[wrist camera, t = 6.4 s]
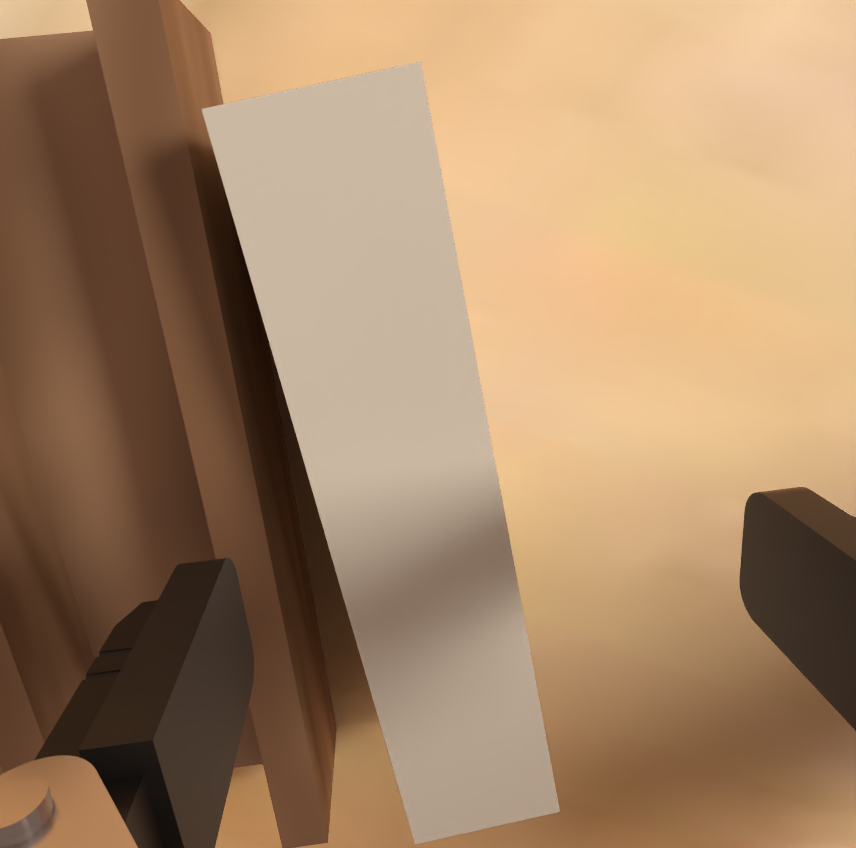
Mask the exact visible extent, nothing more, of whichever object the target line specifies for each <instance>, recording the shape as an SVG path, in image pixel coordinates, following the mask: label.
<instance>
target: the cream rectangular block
mask: <svg viewBox="0 0 856 848" xmlns="http://www.w3.org/2000/svg"><path fill="white" fill-rule="evenodd" d="M202 113H203V116H204V120H205V123H206V126H207V130H208V133H209V137H210V140H211V144H212V147H213V151H214V154H215V157H216V161H217V164H218V168H219V171H220V175H221V178H222V182H223V185H224V188H225V192H226V195H227V199H228V202H229V206H230V209H231V213H232V216H233V219H234V223H235V226H236V230H237V233H238V237H239V240H240V244H241V247H242V250H243V254H244V257H245V261H246V264H247V268H248V271H249V275H250V278H251V281H252V285H253V288H254V292H255V295H256V299H257V302H258V306H259V309H260V312H261V316H262V319H263V323H264V326H265V330H266V333H267V337H268V340H269V343H270V347H271V350H272V354H273V357H274V361H275V364H276V368H277V371H278V374H279V378H280V381H281V385H282V388H283V392H284V395H285V399H286V402H287V405H288V409H289V412H290V416H291V419H292V423H293V426H294V430H295V433H296V436H297V440H298V443H299V447H300V450H301V454H302V457H303V461H304V464H305V467H306V471H307V474H308V478H309V481H310V485H311V488H312V492H313V495H314V498H315V502H316V505H317V509H318V512H319V516H320V519H321V523H322V526H323V529H324V533H325V536H326V540H327V543H328V547H329V550H330V554H331V557H332V560H333V564H334V567H335V571H336V574H337V578H338V581H339V585H340V588H341V591H342V595H343V598H344V602H345V605H346V609H347V612H348V616H349V619H350V622H351V626H352V629H353V633H354V636H355V640H356V643H357V647H358V650H359V653H360V657H361V660H362V664H363V667H364V671H365V674H366V678H367V681H368V684H369V688H370V691H371V695H372V698H373V702H374V705H375V709H376V712H377V715H378V719H379V722H380V726H381V729H382V733H383V736H384V740H385V743H386V746H387V750H388V753H389V757H390V760H391V764H392V767H393V771H394V774H395V777H396V781H397V784H398V788H399V791H400V795H401V798H402V802H403V805H404V808H405V812H406V815H407V819H408V822H409V826H410V829H411V833H412V836H413V839H414V843H415V845H416V844H420V843H424V842H429V841H433V840H438V839H442V838H447V837H451V836H455V835H460V834H464V833H469V832H473V831H478V830H482V829H487V828H491V827H495V826H500V825H504V824H509V823H513V822H518V821H522V820H526V819H531V818H535V817H540V816H544V815H549V814H553V813H558V812H560V808H559V803H558V798H557V792H556V787H555V782H554V776H553V771H552V765H551V760H550V755H549V749H548V744H547V739H546V733H545V728H544V722H543V717H542V712H541V706H540V701H539V695H538V690H537V685H536V679H535V674H534V669H533V663H532V658H531V652H530V647H529V642H528V636H527V631H526V625H525V620H524V615H523V609H522V604H521V599H520V593H519V588H518V582H517V577H516V572H515V566H514V561H513V556H512V550H511V545H510V539H509V534H508V529H507V523H506V518H505V512H504V507H503V502H502V496H501V491H500V486H499V480H498V475H497V469H496V464H495V459H494V453H493V448H492V442H491V437H490V432H489V426H488V421H487V416H486V410H485V405H484V399H483V394H482V389H481V383H480V378H479V373H478V367H477V362H476V356H475V351H474V346H473V340H472V335H471V329H470V324H469V319H468V313H467V308H466V303H465V297H464V292H463V286H462V281H461V276H460V270H459V265H458V259H457V254H456V249H455V243H454V238H453V233H452V227H451V222H450V216H449V211H448V206H447V200H446V195H445V190H444V184H443V179H442V173H441V168H440V163H439V157H438V152H437V146H436V141H435V136H434V130H433V125H432V120H431V114H430V109H429V103H428V98H427V93H426V87H425V82H424V76H423V71H422V66H421V62H416V63H412V64H407V65H402V66H398V67H393V68H388V69H384V70H379V71H375V72H370V73H365V74H361V75H356V76H352V77H347V78H342V79H338V80H333V81H328V82H324V83H319V84H315V85H310V86H305V87H301V88H296V89H291V90H287V91H282V92H278V93H273V94H268V95H264V96H259V97H254V98H250V99H245V100H241V101H236V102H231V103H227V104H222V105H217V106H213V107H208V108H204V109H202Z"/></svg>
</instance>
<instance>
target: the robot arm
mask: <svg viewBox="0 0 856 848" xmlns="http://www.w3.org/2000/svg"><path fill="white" fill-rule="evenodd" d="M740 590H741V595H742V599H743V602H744V605H745V607H746V610H747V612H748V613H749V615H750V617H751V618H752V620H753V621H754V622H755V623H756V624H757V625H758V626H759V627H760V628H761V630H762V631H763V632H764V633H765V634H766V635H767V636H768V637H769V638H770V639H771V640H772V641H773V642H774V643H775V645H776V646H777V647H778V648H779V649H780V650H781V651H782V652H783V653H784V654H785V655H786V656H787V657H788V658H789V660H790V661H791V662H792V663H793V664H794V665H795V666H796V667H797V668H798V669H799V670H800V671H801V672H802V673H803V675H804V676H805V677H806V678H807V679H808V680H809V681H810V682H811V683H812V684H813V685H814V686H815V687H816V688H817V690H818V691H819V692H820V693H821V694H822V695H823V696H824V697H825V698H826V699H827V700H828V701H829V702H830V703H831V705H832V706H833V707H834V708H835V709H836V710H837V711H838V712H839V713H840V714H841V715H842V716H843V717H844V718H845V720H846V721H847V722H848V723H849V724H850V725H851V726H852V727H853V728H854V729H855V730H856V517H853V516H851V515H849V514H847V513H846V512H844V511H843V510H841V509H839V508H838V507H836V506H835V505H833V504H832V503H830V502H828V501H827V500H825V499H824V498H822V497H821V496H819V495H818V494H816V493H814V492H813V491H811V490H809V489H808V488H804V487H797V488H789V489H781V490H773V491H765V492H757V493H753V494H752V495H751V496H750V497H749V498H748V500H747V502H746V506H745V514H744V528H743V541H742V555H741V568H740ZM253 681H254V655H253V646H252V641H251V636H250V632H249V627H248V622H247V618H246V613H245V608H244V604H243V599H242V594H241V590H240V585H239V580H238V576H237V571H236V568H235V565H234V563H233V561H232V560H231V559H230V558H222V559H214V560H206V561H198V562H190V563H182V564H178V565H177V566H176V567H175V569H174V571H173V573H172V575H171V576H170V578H169V580H168V582H167V584H166V586H165V588H164V590H163V592H162V594H161V595H160V597H159V599H158V600H155V601H147V602H142V603H141V604H140V605H138V606H137V607H136V608H135V609H134V610H133V611H131V612H130V613H129V614H128V615H127V616H126V617H124V618H123V619H122V620H121V621H120V622H119V623H117V624H116V625H115V626H114V628H113V630H112V631H111V633H110V635H109V636H108V638H107V640H106V641H105V643H104V645H103V646H102V648H101V650H100V651H99V657H96V658H95V660H94V661H93V663H92V665H91V666H90V668H89V670H88V671H87V673H86V680H82V681H81V683H80V685H79V686H78V688H77V690H76V691H75V693H74V695H73V696H72V698H71V700H70V701H69V703H68V705H67V706H66V708H65V710H64V711H63V713H62V715H61V716H60V718H59V720H58V721H57V723H56V725H55V726H54V728H53V730H52V731H51V733H50V735H49V736H48V738H47V740H46V741H45V743H44V745H43V746H42V748H41V750H40V751H39V753H38V755H37V756H36V758H35V760H34V761H30V762H28V763H25V764H23V765H20V766H17V767H15V768H13V769H11V770H9V771H7V772H5V773H3V774H2V775H0V848H215V844H216V840H217V836H218V831H219V827H220V823H221V819H222V815H223V810H224V806H225V802H226V798H227V793H228V789H229V785H230V781H231V777H232V772H233V768H234V764H235V760H236V755H237V751H238V747H239V743H240V739H241V734H242V730H243V726H244V722H245V717H246V713H247V709H248V705H249V700H250V696H251V692H252V687H253Z"/></svg>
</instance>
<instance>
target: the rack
mask: <svg viewBox="0 0 856 848" xmlns="http://www.w3.org/2000/svg"><path fill="white" fill-rule="evenodd" d="M86 1H87V6H88V10H89V14H90V18H91V23H92V27H93V31H84V32H73V33H63V34H52V35H41V36H30V37H19V38H8V39H0V775H2V774H3V773H5V772H7V771H9V770H11V769H13V768H15V767H17V766H20V765H23V764H25V763H28V762H30V761H34V760H35V758H36V756H37V755H38V753H39V751H40V750H41V748H42V746H43V745H44V743H45V741H46V740H47V738H48V736H49V735H50V733H51V731H52V730H53V728H54V726H55V725H56V723H57V721H58V720H59V718H60V716H61V715H62V713H63V711H64V710H65V708H66V706H67V705H68V703H69V701H70V700H71V698H72V696H73V695H74V693H75V691H76V690H77V688H78V686H79V685H80V683H81V681H82V680H86V673H87V671H88V670H89V668H90V666H91V665H92V663H93V661H94V660H95V658H96V657H99V651H100V650H101V648H102V646H103V645H104V643H105V641H106V640H107V638H108V636H109V635H110V633H111V631H112V630H113V628H114V626H115V625H116V624H117V623H119V622H120V621H121V620H122V619H123V618H124V617H126V616H127V615H128V614H129V613H130V612H131V611H133V610H134V609H135V608H136V607H137V606H138V605H140V604H141V603H142V602H147V601H155V600H158V599H159V597H160V595H161V594H162V592H163V590H164V588H165V586H166V584H167V582H168V580H169V578H170V576H171V575H172V573H173V571H174V569H175V567H176V566H177V565H178V564H182V563H190V562H198V561H206V560H214V559H222V558H230V559H231V560H232V561H233V563H234V565H235V568H236V571H237V576H238V580H239V585H240V590H241V594H242V599H243V604H244V608H245V613H246V618H247V622H248V627H249V632H250V636H251V641H252V646H253V655H254V681H253V687H252V692H251V696H250V700H249V705H248V709H247V713H246V717H245V722H244V726H243V730H242V734H241V739H240V743H239V747H238V751H237V755H236V760H235V764H234V767H241V766H248V765H256V764H263V765H264V770H265V774H266V778H267V783H268V787H269V791H270V796H271V800H272V804H273V808H274V813H275V817H276V821H277V826H278V830H279V834H280V839H281V843H282V847H283V848H293V847H300V846H307V845H314V844H321V843H328V833H329V820H330V807H331V794H332V781H333V768H334V755H335V742H336V724H335V719H334V713H333V708H332V702H331V696H330V691H329V685H328V680H327V674H326V669H325V663H324V658H323V652H322V647H321V641H320V636H319V630H318V625H317V619H316V614H315V608H314V603H313V597H312V592H311V586H310V581H309V575H308V570H307V564H306V558H305V553H304V547H303V542H302V536H301V531H300V525H299V520H298V514H297V509H296V503H295V498H294V492H293V487H292V481H291V476H290V470H289V465H288V459H287V454H286V448H285V443H284V437H283V431H282V426H281V420H280V415H279V409H278V404H277V398H276V393H275V387H274V382H273V376H272V371H271V365H270V360H269V354H268V349H267V343H266V338H265V332H264V327H263V321H262V316H261V312H260V309H259V306H258V302H257V299H256V295H255V292H254V288H253V285H252V281H251V278H250V275H249V271H248V268H247V264H246V261H245V257H244V254H243V250H242V247H241V244H240V240H239V237H238V233H237V230H236V226H235V223H234V219H233V216H232V213H231V209H230V206H229V202H228V199H227V195H226V192H225V188H224V185H223V182H222V178H221V175H220V171H219V168H218V164H217V161H216V157H215V154H214V151H213V147H212V144H211V140H210V137H209V133H208V130H207V126H206V123H205V120H204V116H203V113H202V109H204V108H208V107H213V106H217V105H222V104H223V100H222V95H221V89H220V84H219V78H218V73H217V67H216V62H215V56H214V51H213V45H212V40H211V34H210V32H209V31H208V30H207V29H206V28H205V27H204V26H203V25H202V24H201V23H200V22H199V20H198V19H197V18H196V17H195V16H194V15H193V14H192V13H191V12H190V11H189V10H188V9H187V8H186V7H185V6H184V5H183V4H182V2H181V1H180V0H86Z"/></svg>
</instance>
